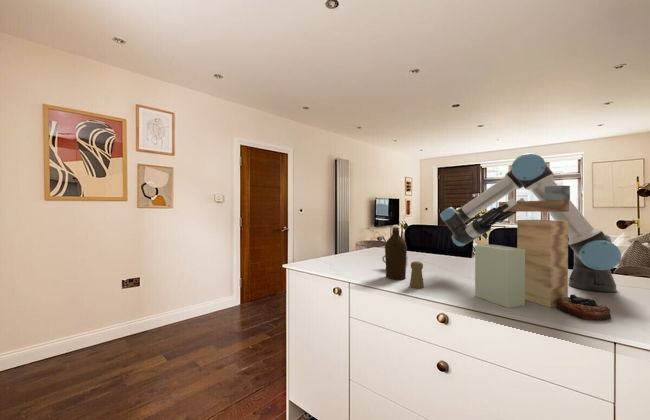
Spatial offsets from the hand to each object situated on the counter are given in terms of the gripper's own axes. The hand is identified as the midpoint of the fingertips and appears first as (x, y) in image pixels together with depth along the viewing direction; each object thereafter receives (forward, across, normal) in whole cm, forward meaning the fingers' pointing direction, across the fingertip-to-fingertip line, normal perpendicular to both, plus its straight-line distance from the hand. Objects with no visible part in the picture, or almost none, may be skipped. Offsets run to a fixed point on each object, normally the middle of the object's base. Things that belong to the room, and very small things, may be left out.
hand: (519, 200), depth 113 cm
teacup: (-67, +23, -4) cm, 71 cm away
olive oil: (-52, +33, -13) cm, 63 cm away
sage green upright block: (-16, +15, -34) cm, 40 cm away
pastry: (0, +1, -44) cm, 44 cm away
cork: (-37, +33, -21) cm, 54 cm away
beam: (+2, 0, -6) cm, 6 cm away
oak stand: (-12, 0, -37) cm, 38 cm away
